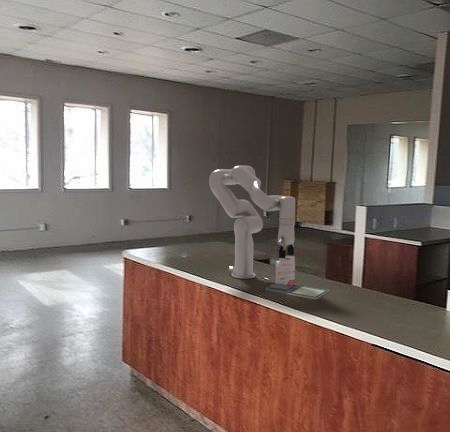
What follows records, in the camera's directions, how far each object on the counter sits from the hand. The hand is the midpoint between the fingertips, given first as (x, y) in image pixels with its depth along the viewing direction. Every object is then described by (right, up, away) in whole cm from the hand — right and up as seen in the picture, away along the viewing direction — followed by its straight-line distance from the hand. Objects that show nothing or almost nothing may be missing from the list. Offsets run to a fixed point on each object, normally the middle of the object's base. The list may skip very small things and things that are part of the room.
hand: (286, 256), depth 239 cm
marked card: (+9, -16, -13) cm, 22 cm away
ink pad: (-4, -15, -9) cm, 18 cm away
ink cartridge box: (-1, -14, +2) cm, 14 cm away
